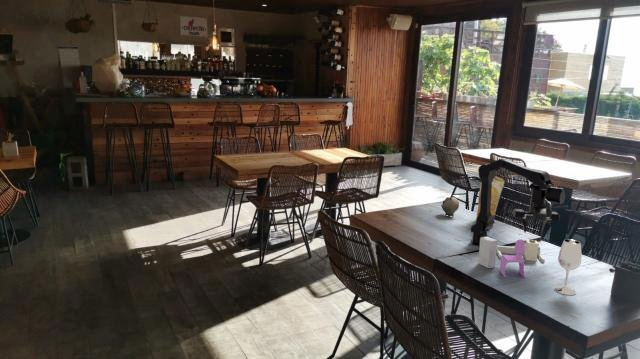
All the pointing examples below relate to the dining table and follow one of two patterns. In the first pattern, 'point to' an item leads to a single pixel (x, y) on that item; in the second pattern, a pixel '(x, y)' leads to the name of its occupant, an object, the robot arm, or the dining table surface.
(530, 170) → the robot arm
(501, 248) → the white post rack
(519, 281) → the dining table surface
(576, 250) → the wineglass
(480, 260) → the skincare box
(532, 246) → the cream rectangular block
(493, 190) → the pancake mix bag
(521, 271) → the toy chair
